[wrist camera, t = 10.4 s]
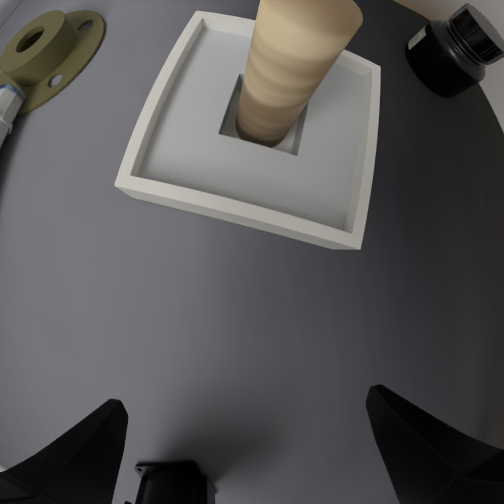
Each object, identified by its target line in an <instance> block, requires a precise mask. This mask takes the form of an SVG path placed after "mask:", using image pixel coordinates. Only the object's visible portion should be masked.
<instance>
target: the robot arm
mask: <svg viewBox="0 0 504 504" xmlns="http://www.w3.org/2000/svg"><path fill="white" fill-rule="evenodd" d="M366 408H367V412H368V415H369V419H370V423H371V427H372V430H373V434H374V438H375V441H376V443H377V446H378V448H379V451H380V453H381V456H382V458H383V461H384V463H385V466H386V469H387V471H388V474H389V476H390V479H391V482H392V484H393V487H394V490H395V492H396V495H397V498H398V500H399V503H400V504H504V449H500V448H497V447H494V446H492V445H489V444H487V443H484V442H482V441H479V440H477V439H474V438H472V437H470V436H468V435H466V434H464V433H462V432H460V431H458V430H456V429H454V428H453V427H451V426H450V427H449V425H447V424H446V423H444V422H442V421H441V420H439V419H437V418H435V417H434V416H432V415H430V414H429V413H427V412H425V411H424V410H422V409H420V408H419V407H417V406H415V405H414V404H412V403H411V402H409V401H407V400H406V399H404V398H402V397H401V396H399V395H398V394H396V393H394V392H393V391H391V390H390V389H388V388H386V387H385V386H383V385H381V384H379V385H375V386H371V387H370V389H369V392H368V396H367V399H366ZM127 425H128V414H127V412H126V410H125V408H124V406H123V404H122V402H121V401H120V400H117V399H109V400H108V401H106V402H105V403H104V404H103V405H101V406H100V407H99V408H97V409H96V410H95V411H93V412H92V413H91V414H89V415H88V416H87V417H85V418H84V419H83V420H82V421H80V422H79V423H78V424H76V425H75V426H74V427H72V428H71V429H70V430H68V431H67V432H65V433H64V434H63V435H61V436H60V437H59V438H57V439H56V440H55V441H53V442H52V443H50V444H49V445H48V446H46V447H45V448H44V449H42V450H41V451H39V452H38V453H36V454H35V455H33V456H31V457H30V458H28V459H26V460H25V461H23V462H21V463H19V464H17V465H15V466H13V467H11V468H10V469H8V470H5V471H3V472H0V504H112V499H113V495H114V490H115V486H116V481H117V477H118V473H119V469H120V465H121V461H122V457H123V452H124V446H125V439H126V432H127ZM191 465H193V466H191ZM139 468H140V469H139ZM135 470H136V472H137V473H138V475H139V476H140V478H141V482H140V486H139V489H138V493H137V497H136V501H135V504H215V490H214V488H213V486H212V484H211V483H210V481H209V479H208V477H207V476H205V475H203V473H202V472H201V470H200V468H199V466H198V464H197V463H196V462H195V461H184V462H173V463H159V464H137V465H136V466H135ZM124 504H131V502H128V501H125V503H124Z"/></svg>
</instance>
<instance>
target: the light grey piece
mask: <svg viewBox="0 0 504 504" xmlns="http://www.w3.org/2000/svg"><path fill="white" fill-rule="evenodd" d="M25 97H26V96H25V95H24V94H23V93H22V91H21V90H20V89H19V88H17V87H15V86H13V85H10V84H4V85H0V148H1V146H2V144H3V142H4V139H5V137H6V135H7V134H10V133H11V131H12V126H13V125H12V123H13V121H14V119H15V117H16V115H17V113H18V111H19V109H20V107H21V105H22V103H23V102H24V100H25Z"/></svg>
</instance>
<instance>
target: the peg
mask: <svg viewBox="0 0 504 504" xmlns="http://www.w3.org/2000/svg"><path fill="white" fill-rule="evenodd" d="M362 22H363V16H362V13H361V11H360V9H359V7H358V6H357V5H356V3H355V2H354V1H353V0H260V4H259V9H258V13H257V17H256V22H255V26H254V31H253V35H252V40H251V44H250V49H249V54H248V59H247V64H246V68H245V73H244V79H243V84H242V89H241V94H240V99H239V105H238V110H237V116H236V121H235V129H236V132H237V134H238V136H239V138H240V139H241V140H244V141H248V142H251V143H255V144H259V145H262V146H266V147H269V148H273V147H275V146H277V145H278V144H280V143H281V142H282V141H283V139H284V138H285V136H286V135H287V133H288V131H289V130H290V128H291V127H292V125H293V124H294V122H295V121H296V119H297V118H298V116H299V115H300V113H301V112H302V110H303V109H304V107H305V105H306V104H307V102H308V101H309V99H310V98H311V96H312V95H313V93H314V92H315V90H316V89H317V87H318V86H319V85H320V83H321V82H322V80H323V79H324V77H325V76H326V74H327V73H328V71H329V70H330V68H331V67H332V65H333V64H334V63H335V61H336V60H337V58H338V57H339V55H340V54H341V53H342V51H343V50H344V48H345V47H346V45H347V44H348V43H349V41H350V40H351V38H352V37H353V36H354V34H355V33H356V31H357V30H358V29H359V27H360V26H361V24H362Z"/></svg>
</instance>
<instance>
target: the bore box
mask: <svg viewBox="0 0 504 504" xmlns="http://www.w3.org/2000/svg"><path fill="white" fill-rule="evenodd" d="M255 22H256V21H255V20H250V19H245V18H240V17H235V16H229V15H223V14H217V13H210V12H202V11H196V12H195V14H194V15H193V17H192V18H191V20H190V21H189V23H188V24H187V26H186V28H185V29H184V31H183V32H182V34H181V36H180V37H179V39H178V41H177V42H176V44H175V46H174V48H173V49H172V51H171V53H170V55H169V57H168V58H167V60H166V62H165V64H164V66H163V68H162V70H161V72H160V74H159V76H158V78H157V80H156V82H155V84H154V86H153V88H152V90H151V92H150V94H149V96H148V98H147V101H146V103H145V105H144V107H143V110H142V112H141V114H140V116H139V119H138V121H137V124H136V126H135V129H134V131H133V134H132V136H131V139H130V141H129V144H128V147H127V150H126V152H125V155H124V158H123V161H122V164H121V167H120V170H119V173H118V176H117V179H116V182H115V185H114V186H115V187H117V188H118V189H120V190H122V191H123V192H125V193H126V194H128V195H129V196H131V197H133V198H134V199H138V200H142V201H146V202H151V203H155V204H159V205H163V206H167V207H172V208H176V209H180V210H184V211H188V212H192V213H196V214H200V215H204V216H208V217H212V218H216V219H220V220H224V221H228V222H232V223H236V224H240V225H244V226H247V227H251V228H255V229H259V230H263V231H267V232H270V233H274V234H278V235H282V236H285V237H289V238H293V239H296V240H300V241H304V242H307V243H311V244H315V245H318V246H322V247H325V248H329V249H347V250H360V249H361V244H362V240H363V234H364V229H365V224H366V218H367V212H368V206H369V200H370V194H371V187H372V180H373V172H374V164H375V155H376V145H377V134H378V122H379V105H380V66H378V65H376V64H374V63H372V62H370V61H368V60H366V59H364V58H362V57H360V56H358V55H355V54H353V53H351V52H349V51H346V50H343V51H342V53H341V54H340V55H339V57H338V58H337V60H336V61H335V63H334V64H333V65H332V67H331V68H330V70H329V71H328V73H327V74H326V76H325V77H324V79H323V80H322V82H321V83H320V85H319V86H318V87H317V89H316V90H315V92H314V93H313V95H312V96H311V98H310V99H309V101H308V102H307V104H306V105H305V107H304V109H303V110H302V112H301V113H300V115H299V116H298V118H297V119H296V121H295V122H294V124H293V125H292V127H291V128H290V130H289V131H288V133H287V135H286V136H285V138H284V139H283V141H282V142H281V143H280V144H278V145H277V146H275V147H273V148H269V147H266V146H262V145H259V144H255V143H251V142H248V141H244V140H241V139H240V138H239V136H238V134H237V132H236V129H235V121H236V116H237V110H238V105H239V99H240V94H241V89H242V84H243V79H244V73H245V68H246V64H247V59H248V54H249V49H250V44H251V40H252V35H253V31H254V26H255Z"/></svg>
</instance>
